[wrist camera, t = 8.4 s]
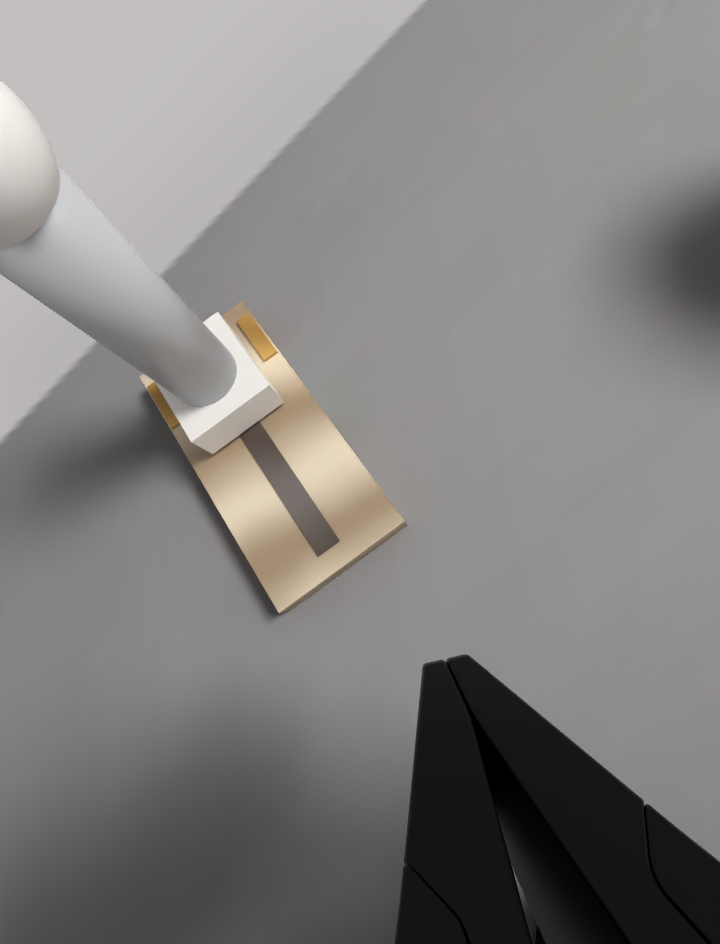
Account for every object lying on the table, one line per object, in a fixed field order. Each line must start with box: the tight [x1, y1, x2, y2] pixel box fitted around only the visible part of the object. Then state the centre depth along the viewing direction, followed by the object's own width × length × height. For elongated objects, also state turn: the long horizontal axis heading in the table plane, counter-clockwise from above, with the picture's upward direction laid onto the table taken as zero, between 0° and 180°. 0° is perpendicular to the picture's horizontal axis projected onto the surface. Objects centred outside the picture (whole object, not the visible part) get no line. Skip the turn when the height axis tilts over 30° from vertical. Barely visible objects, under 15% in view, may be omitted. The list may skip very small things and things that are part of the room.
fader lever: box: [0, 80, 284, 454], centre depth 16 cm, size 5×4×15 cm
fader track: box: [140, 302, 407, 613], centre depth 23 cm, size 15×7×2 cm, turn 35°
